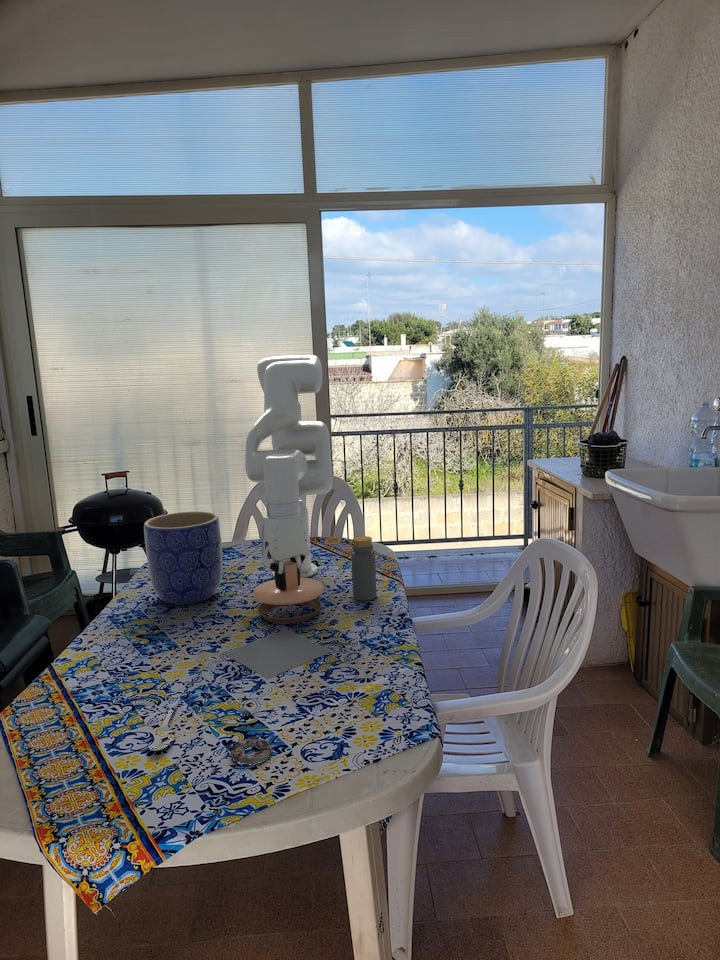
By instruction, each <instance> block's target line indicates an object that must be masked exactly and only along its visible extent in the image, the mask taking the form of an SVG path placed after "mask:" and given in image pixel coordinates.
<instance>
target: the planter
mask: <svg viewBox="0 0 720 960" xmlns="http://www.w3.org/2000/svg"><path fill="white" fill-rule="evenodd" d="M143 534H144V535H143V536H144V544H145V552H146V560H147V568H148V573H149V579H150V584H151V586H152V589H153V591H154V592H155V594H156V595H157V597H159V599H160V600H162V601H163V602H165V603H166V604H170V605H173V604H175V606H187V605H188V604H189V605H194V603H195V604H199V603H202V602H205V601H207V600H208V599H210V598H212V597H213V596H214V595H215V594H216V592H217V591H218V590H219V587H220V585H221V582H222V579H223V551H222V550H223V548H222V536H221V535H222V534H221V524H220V517H219V515H218V514H216V513H214V512H212V511H211V512H210V511H201V510H198V511H197V510H196V511H195V510H194V511H193V510H192V511H179V512H172V513H168V514H167V513H166V514H162V515H158V516H155V517H151V518H150V519H147V520H146V521H145V522H144V524H143Z"/></svg>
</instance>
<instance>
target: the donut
mask: <svg viewBox="0 0 720 960" xmlns="http://www.w3.org/2000/svg"><path fill="white" fill-rule="evenodd" d="M258 738H259V737H258V736H252V737H250V738H249V739H244V740H241V741H239V742H237V743H236V745H234V746H232V747H231V748H232V749H231V751H230V758H231V757H232V758H233V759H234V760H235V761H237V762H240V763H247V764H254V763H258V762H260V761H263V760H265V759H267V758H268V756H269V755H270V754H271V755H272V752H273V746H272V745H271V743H270V742H268V741H267V740H266V739H262V738H260V739H258ZM255 746H257V747H259V748H260V749H261V751H260V750H258V751H257V752H255V753H254V754H247V752H245V751H244V750H245V749H247V748H249V747H255ZM271 751H272V752H271ZM271 755H270V756H271ZM232 758H231V759H232ZM268 759H269V758H268Z"/></svg>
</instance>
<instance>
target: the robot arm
mask: <svg viewBox="0 0 720 960" xmlns="http://www.w3.org/2000/svg"><path fill="white" fill-rule="evenodd" d="M256 368H257V369H256V371H257V376H258V377H257V378H258V381H259V384H260V387H261V390H262V392H263V393H264V394H263V395H264V397H263V401H264V402H263V414H262V415H261V416H260V417H259V418H258V419H257V420H256V421H255V423H254V424H253V425H252V427H251V428H250V430H249V432H248V434H247V437H246V441H245V452H244V453H245V455H244V457H245V458H244V460H245V461H244V462H245V463H244V465H245V468H244V469H245V474H246V476H247V478H248V479H249V480H250V481H251V482H252V483H253V482H254V483H264V495H265V496H264V498H265V508H266V509H265V510H266V515H264V516H263V518H262V526H261V556H262V558H261V561H260V565H261V566H264V567H267V568H269V569H270V570H271V572H272V573H271V574H272V576H273V577H274V580H275V584H276V587H277V588H278V589H281V590H286V577H285V573H283V562H285V561H288V560H289V561H292V562H295V563H297V577H298V586H299V585H300V577H302V578H309V577H312V576H313V575H315V574H317V572H318V566H317V565H316V564H314V563H313V562H312V555H311V554H312V552H311V550H312V549H311V537H310V533H311V532H310V519H309V518H310V517H309V510H308V507H307V506H306V504H304V502H303V500H301V499H300V496H308V495H309V496H312V495H313V496H314V495H325V494H328V493H329V492H330V491H331V490H332V487H333V467H332V465H333V464H332V451H331V441H330V440H331V438H330V432H329V428H328V426H327V424H326V423H324V422H323V421H320V420H319V421H318V420H302V407H301V403H300V401H299V395H301V394H304V395H306V394H317V393H319V392H320V391H321V389H322V385H323V366H322V363H321V360H320V358H319V357H318V356H317V355H314V354H305V355H302V354H301V355H279V356H270V357H265V358H263V359H260V360H259V361H258V363H257V367H256ZM269 437H271V447H272V449H265V450H263V449H261V450H258V449H259V447H260V445H261V443H263V442H264V440H266V439H267V438H269ZM308 456H311V457H313V458H314V459H309V460H308V459H307V457H308ZM270 560H271V561H270Z"/></svg>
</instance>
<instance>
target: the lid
mask: <svg viewBox="0 0 720 960" xmlns="http://www.w3.org/2000/svg"><path fill="white" fill-rule="evenodd" d="M283 573H285V577H286V590H281V589H278V588H277V587H276V584H275V579H272V580H268V581H265V582H263V583H261V584H258V585H257V586H255V588H254V589H253V598H254V599H255V600H256V601H257V602H259V603H261V604H262V603H265V604H272V605H283V606H290V604H292V605H299V604H298V603H303V602H307V601H310V600H313V599H317V598H318V597H320V596H321V595H322V594H323V593H324V584H323V583H322V582H321V581H319V580H317V579H314V578H309V577H306V578H302V577H300V585H299V586H298V577H297V563H295V562H292V561H289V560H288V561H285V562H283Z"/></svg>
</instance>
